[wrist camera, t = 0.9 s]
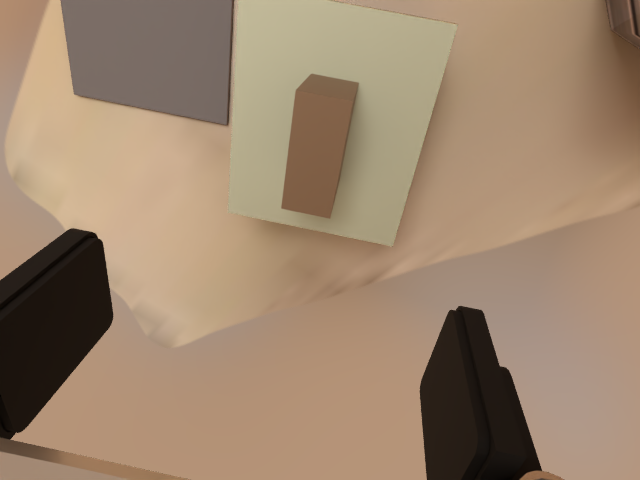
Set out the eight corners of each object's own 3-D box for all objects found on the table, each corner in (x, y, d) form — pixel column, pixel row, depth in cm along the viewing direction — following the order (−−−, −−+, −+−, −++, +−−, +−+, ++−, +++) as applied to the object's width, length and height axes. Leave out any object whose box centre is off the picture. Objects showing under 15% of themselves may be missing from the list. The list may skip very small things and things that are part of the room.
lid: (251, -16, 23) (205, -18, 17) (452, 22, 22) (474, 32, 17) (237, 198, 30) (202, 248, 24) (392, 230, 29) (393, 288, 24)
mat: (44, -145, 25) (39, -147, 25) (238, -111, 25) (236, -112, 25) (77, 93, 33) (74, 94, 32) (228, 123, 32) (226, 124, 32)
